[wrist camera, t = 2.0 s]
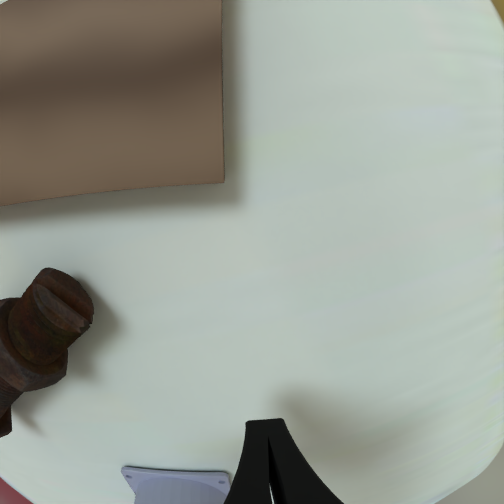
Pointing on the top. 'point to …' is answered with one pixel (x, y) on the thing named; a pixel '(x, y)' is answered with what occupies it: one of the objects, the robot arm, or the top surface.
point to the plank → (109, 96)
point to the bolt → (39, 336)
